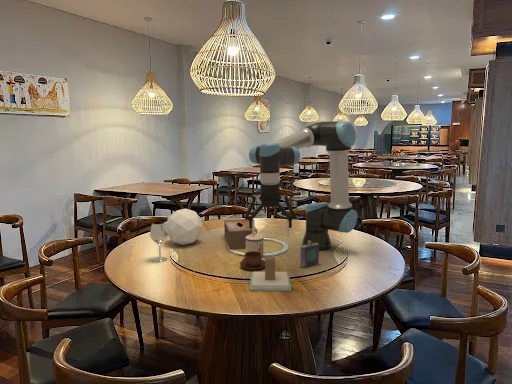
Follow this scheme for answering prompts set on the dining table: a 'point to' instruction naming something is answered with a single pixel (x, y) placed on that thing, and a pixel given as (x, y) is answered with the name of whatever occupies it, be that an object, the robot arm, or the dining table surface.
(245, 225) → the tissue box cover
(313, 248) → the flask
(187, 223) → the ball
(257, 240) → the teacup with lid
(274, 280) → the lid
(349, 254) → the dining table surface
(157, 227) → the wineglass
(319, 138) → the robot arm
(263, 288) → the mat
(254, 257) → the cup and saucer
